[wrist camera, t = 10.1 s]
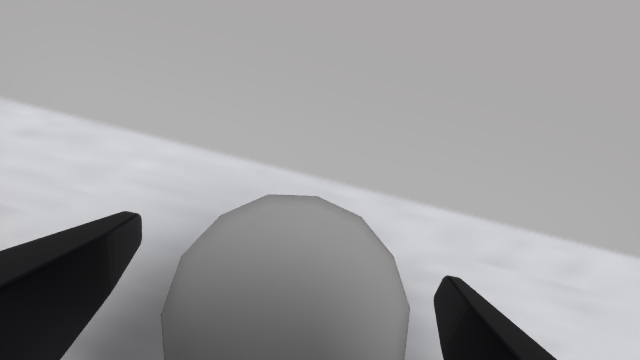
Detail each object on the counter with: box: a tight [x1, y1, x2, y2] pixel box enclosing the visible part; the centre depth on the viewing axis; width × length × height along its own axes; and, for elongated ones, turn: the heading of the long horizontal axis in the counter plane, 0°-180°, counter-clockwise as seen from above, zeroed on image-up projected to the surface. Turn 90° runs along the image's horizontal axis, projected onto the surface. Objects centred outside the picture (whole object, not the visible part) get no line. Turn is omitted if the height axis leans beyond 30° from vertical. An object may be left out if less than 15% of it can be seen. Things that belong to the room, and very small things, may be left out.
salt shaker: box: [161, 195, 410, 360], centre depth 11 cm, size 6×6×13 cm
